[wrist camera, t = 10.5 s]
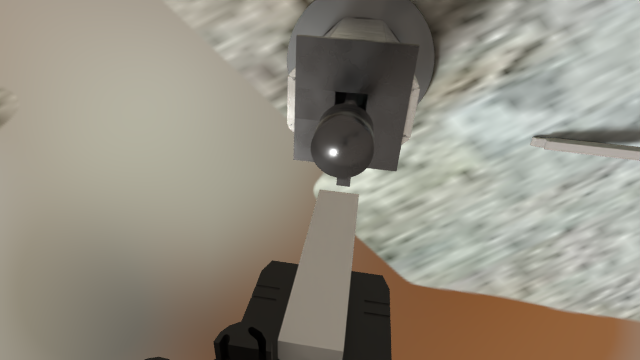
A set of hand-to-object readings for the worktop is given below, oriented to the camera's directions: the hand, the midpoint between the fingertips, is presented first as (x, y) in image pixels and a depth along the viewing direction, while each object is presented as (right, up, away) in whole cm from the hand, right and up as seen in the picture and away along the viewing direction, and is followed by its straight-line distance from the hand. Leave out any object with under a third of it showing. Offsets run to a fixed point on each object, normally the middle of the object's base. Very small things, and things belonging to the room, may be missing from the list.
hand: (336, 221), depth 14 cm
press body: (+4, +13, +26) cm, 29 cm away
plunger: (+3, +12, +22) cm, 25 cm away
